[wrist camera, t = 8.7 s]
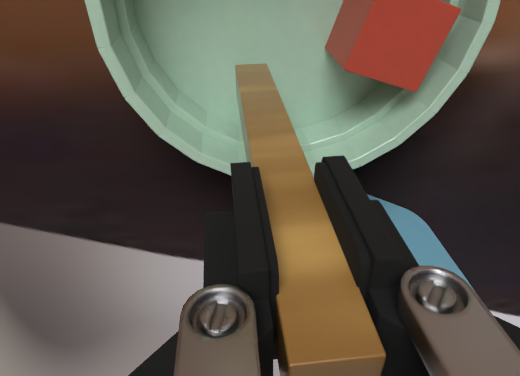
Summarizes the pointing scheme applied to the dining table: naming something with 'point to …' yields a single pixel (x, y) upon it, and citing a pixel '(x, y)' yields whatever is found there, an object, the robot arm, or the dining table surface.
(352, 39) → the block
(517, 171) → the dining table surface
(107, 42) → the bowl
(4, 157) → the dining table surface
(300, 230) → the stick
